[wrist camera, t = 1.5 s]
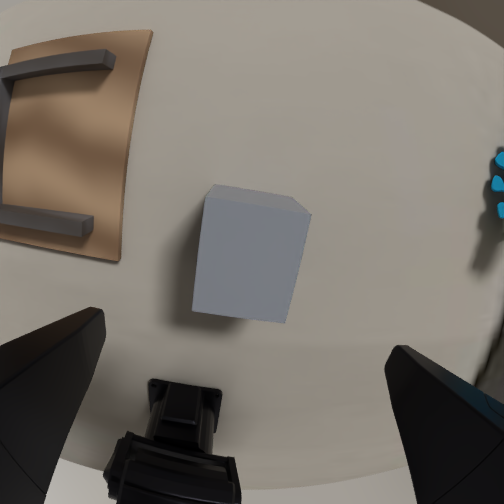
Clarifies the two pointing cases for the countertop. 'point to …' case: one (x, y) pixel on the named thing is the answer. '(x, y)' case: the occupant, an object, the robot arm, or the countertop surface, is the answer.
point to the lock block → (249, 253)
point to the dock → (69, 140)
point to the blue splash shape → (499, 183)
